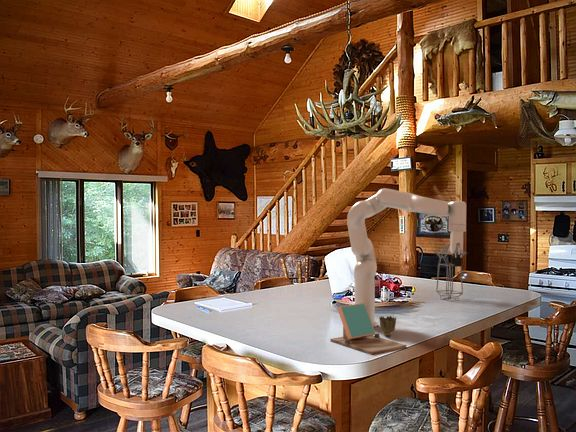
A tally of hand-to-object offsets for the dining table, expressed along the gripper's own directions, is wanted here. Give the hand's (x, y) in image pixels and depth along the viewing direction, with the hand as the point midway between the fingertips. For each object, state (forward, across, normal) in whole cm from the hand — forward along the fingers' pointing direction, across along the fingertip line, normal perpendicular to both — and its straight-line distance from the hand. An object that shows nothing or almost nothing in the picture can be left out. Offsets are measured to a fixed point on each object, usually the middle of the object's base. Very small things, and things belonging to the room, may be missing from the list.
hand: (456, 265), depth 239 cm
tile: (+23, +27, -44) cm, 57 cm away
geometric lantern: (+31, -88, +7) cm, 94 cm away
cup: (+31, +15, -31) cm, 46 cm away
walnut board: (+31, +32, -39) cm, 59 cm away
